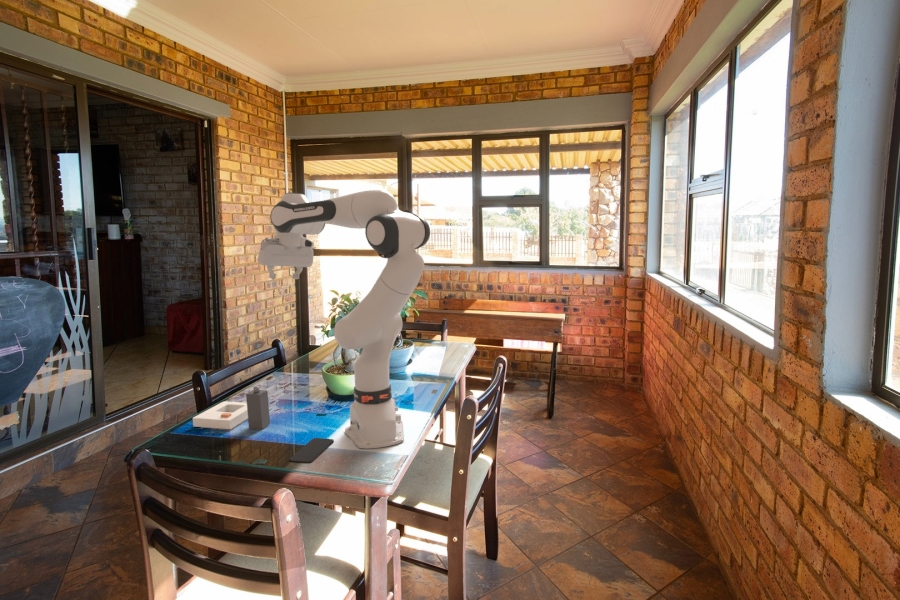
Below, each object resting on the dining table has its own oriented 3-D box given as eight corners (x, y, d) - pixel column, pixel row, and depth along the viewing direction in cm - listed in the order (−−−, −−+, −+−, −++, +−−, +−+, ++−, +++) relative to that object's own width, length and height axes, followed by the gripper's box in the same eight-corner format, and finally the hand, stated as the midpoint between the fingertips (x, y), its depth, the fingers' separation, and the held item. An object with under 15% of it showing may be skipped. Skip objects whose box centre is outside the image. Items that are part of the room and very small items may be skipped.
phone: (287, 460, 141) (313, 437, 156) (287, 462, 142) (313, 440, 156) (311, 462, 140) (335, 439, 154) (311, 464, 140) (335, 441, 154)
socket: (224, 410, 182) (223, 399, 182) (258, 412, 179) (258, 401, 179) (193, 427, 167) (192, 415, 166) (230, 430, 164) (229, 418, 163)
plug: (256, 423, 169) (253, 384, 167) (270, 424, 168) (266, 385, 166) (249, 428, 165) (245, 388, 163) (262, 429, 164) (259, 389, 162)
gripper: (267, 238, 163) (262, 280, 166) (318, 243, 180) (313, 280, 182) (256, 235, 167) (252, 276, 169) (307, 240, 183) (302, 277, 186)
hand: (284, 278), depth 176 cm, fingers open, 8 cm apart
